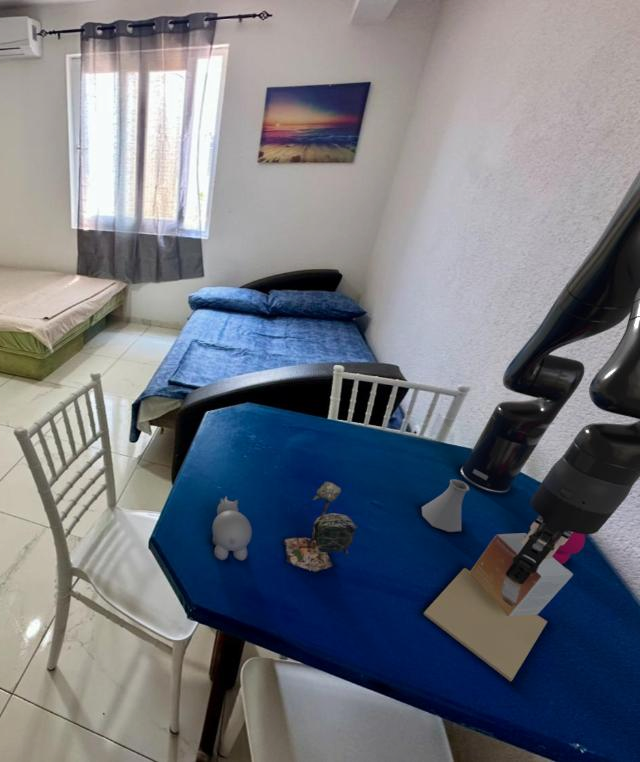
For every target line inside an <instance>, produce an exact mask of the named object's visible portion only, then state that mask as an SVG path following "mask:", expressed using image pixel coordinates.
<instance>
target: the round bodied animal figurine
mask: <svg viewBox="0 0 640 762" xmlns="http://www.w3.org/2000/svg"><path fill="white" fill-rule="evenodd" d="M238 505H239V499H236V500H234V501H231V500H228V496H226V495H225V497H224V498H222V497H221V498H220V500H219V503H218V506H217V509H216V513H217V516H215V519H214V520H213V522H212V529H211V530H212V535H213V536H212V543H213V544H214V546H215V547H214V550H213V554H214V556H215V557H216V559H218V560H220V561H224V560H226V559H227V558H228V557H229V552H231V551H232V554H233V557H234V558H235V559H236V560H238V561H244V560H246V559H247V557H248V549H247V546H248V545H249V544H250V541H251V540H252V534H253V529H252V526H251V525H252V524H251V523H250V521H249V520H248V518H247V517H246V516H245V515H244V514H242V512H239V511H240V510H239V507H238Z"/></svg>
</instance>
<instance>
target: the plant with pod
mask: <svg viewBox="0 0 640 762" xmlns="http://www.w3.org/2000/svg"><path fill="white" fill-rule="evenodd" d="M341 492H342V489H341V487H339V486H337V485H336V484H335V483H334V482H331V481H324V482H323V484H322V485H321V486H320V487H319V488H318V489H317V490H316V494H317V495H315V496H314V497H313V498H312V500H313V501H315V500H317V499H323V500H325V504H324V508H323V511H322V513H321V516H320V515H319V517H317V518H316V519H315V521H314V522H313V525H312V526H313V528H312V530H313V531H312V532H311V535H312V536H311V538H309V537H300V536H299V537H296V536H294V537H293V538H292V537H290V538H285V540H284V541H283V544H284V545H285V547H284V548H285V550H286V551H285V554H286V562H287V563H289V564H290V565H292V566H295V567H298V568H301V569H305V570H309V571H310V572H311V571H312V573H315V572H319V571H322V570H328V569H329V568H332V567H334V564H333V562H332V561H331V558H330V557H329V555H328V554H329V553H340V552H342V551H343V552H344V553H345V554H349V553H348V552H349V551H348V550H347V549H348V548H349V547H350V546H351V544H353V539H354V534H355V533H356V528H358V525H356V524H355V523H354V521H353V520H352V518H351V517H350V516H348V515H345V514H340V513H335V512H332V513H327V509H328V507H329V505H330V503H332V502H334V501H336V500H337V499H338V497H339V496H340V494H341Z"/></svg>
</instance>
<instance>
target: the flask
mask: <svg viewBox="0 0 640 762" xmlns="http://www.w3.org/2000/svg"><path fill="white" fill-rule="evenodd" d="M469 491H470V486H469V485H468V484H467V482H465V481H462V480H459V479H456V478H455V479H450V480H449V486H448V487H447V488H446V490H445V491H443V493H441V494H440V495H438V496H437V497H436V498H434V499H433V500H431V501H429V502H427V503H425V504H424V505H423V506H421V515H422V517H423V518H424V519H425V521H426V522H428V523H429V524H430V525H431V526H432V527H434V528H437V529H440V530H442V531H444V532H445V531H446V532H447V533H453V532H454V533H455V532H462V509H463V508H462V507H463V506H462V505H463V500H464V497H465V494H466V493H468V492H469Z"/></svg>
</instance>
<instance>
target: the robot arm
mask: <svg viewBox="0 0 640 762" xmlns="http://www.w3.org/2000/svg"><path fill="white" fill-rule="evenodd" d="M628 316H629V317H628ZM627 317H628V320H627V324H626V328H625V331H624V334H623V335H622V337H621V338H620V341H619V342H618V344H617V345H616V348H615V349H614V350H613V351H612V353H611V355H610V356H609V358H608V359H607V361H605V363H603V365H602V367H601V368H600V369H599V370H598V371H597V373H596V374H595V376H593V379H592V380H591V382H590V384H589V387H588V393H589V397H590V400H591V402H592V403H593V405H594V406H596V408H598V409H599V410H602V411H604V412H607V413H610V414H615V415H619V416H624V417H628V418H632V419H638V421H634V422H631V423H609V422H595V423H594V422H593V423H589V424H587V425H585V426H584V427H582V428H581V430H579V432H578V433H577V435H576V436H575V438H574V439H573V440H572V442H571V443H570V445H569V446H568V448H567V449H566V451H565V453H563V454H562V456H561V457H560V458H559V459H558V460H557V461H556V462H555V463H554V464H553V465H552V467H551V468H550V470H549V471H548V472H547V474H546V475H545V477H544V478H543V480H542V481H541V483H540V484H539V486H538V487H537V489H536V490H535V491H534V492H533V494H532V496H531V497H530V500H529V503H530V506H531V508H532V509H533V510H534V511H535V513H536V514H537V515H538V516H537V518H536V519H534V521H533V522H532V523H533V524H532V523H531V525H530V526H529V528H530V530H529V531H528V533H526V534H527V535H526V537H525V538H524V539H523V541H522V542H521V544H522V546H523V548H522V549H521V551H520V552H519V553H518V555H517V554H516V556H515V557H514V558H513V564H512V565H511V567H510V568H509V569H508V571H507V572H506V575H507V577H509V578H511V579H512V580H514V581H515V582H517V583H519V584H523V583H524V582H525V581H526V579H527V578H528V577H529V576H530V574H531V573H532V574H533V573H534V572H536V571H537V569H538V568H539V567H538V566H539V565H540V564H541V562H542V561H543V560H544V559H550V558H551V557H552V556H553V554H554V553H555V552H556V550H557V549H558V548H559V546H561V545H564V544H565V543H566V541H567V540H568V539H569V537H570V535H571V534H572V533H573V532H575V533H580V534H585V535H593V534H596V533H598V532H599V531H600V530H601V528H602V527H603V526H604V525H605V524H606V523H607V521H609V519H610V518H611V516H612V515H613V514H614V513H615V512H616V511H617V509H618V508H619V507H620V506H621V504H623V502H624V501H625V500H626V499H627V497H628V496H629V493H630V492H631V490H632V488H633V486H634V485H635V483H636V482H637V481H638V480H639V479H640V169H639V170H638V172H637V173H636V175H635V177H634V179H633V180H632V182H631V184H630V185H629V187H628V188H627V191H626V192H625V194H624V195H623V197H622V199H621V200H620V202H619V204H618V206H617V207H616V209H615V211H614V213H613V215H612V216H611V218H610V219H609V221H608V223H607V225H606V227H605V228H604V230H603V232H602V234H600V236H599V238H598V239H597V241H596V242H595V244H594V246H592V248H591V249H590V251H589V252H588V254H587V255H586V257H585V258H584V259H583V261H582V263H581V264H580V265H579V266H578V268H577V269H576V271H574V273H573V275H572V276H571V277H570V279H568V281H567V283H566V284H565V286H564V287H563V288H562V290H561V292H560V293H559V294H558V296H557V297H556V299H555V300H554V302H553V304H552V305H551V307H550V309H549V310H548V312H547V314H546V315H545V317H544V318H543V320H542V321H541V323H540V324H539V326H538V327H537V329H536V330H535V332H534V333H533V334H532V335H531V336H530V337H529V339H528V340H527V341H526V342H525V344H523V345H522V347H520V349H519V351H518V352H517V353H516V354H515V356H514V357H513V358H512V359H511V361H510V362H509V364H508V365H507V367H506V368H505V371H504V373H503V376H502V384H503V387H505V389H507V390H508V391H511V392H514V393H516V394H520V395H524V396H528V397H532V398H534V399H530V400H508V401H501V402H500V403H498V404H497V405H496V406H495V407H494V410H493V411H492V413H491V415H490V417H489V419H488V420H487V423H486V424H485V426H484V428H483V430H482V431H481V433H480V435H479V437H478V439H477V440H476V443H475V445H474V446H473V448H472V450H471V452H470V453H469V455H468V457H467V458H466V460H465V463H464V464H463V466H462V467H461V468H460V470H459V473H460V476H461V478H463V480H465V482H466V483H468V484H469V485H471V486H473V487H475V488H476V489H478V490H481V491H483V492H487V493H490V494H495V495H504V494H507V493H508V492H509V491H510V489H511V487H512V485H513V483H514V482H515V480H516V479H517V477H518V476H519V474H520V472H521V471H522V469H523V468H524V466H526V465H525V464H526V463H527V461H528V460H529V458H530V457H531V455H532V454H533V452H534V451H535V449H536V448H537V446H538V444H539V443H540V441H541V439H542V438H543V437H544V435H545V433H546V432H547V430H548V429H549V428H550V426H551V424H552V423H553V422H554V421H555V420H556V418H557V416H558V415H559V413H560V412H561V410H562V409H563V408H564V406H565V405H566V404H567V403H568V401H569V399H570V398H571V397H572V396H573V394H574V393H575V392H576V391H577V389H578V387H579V386H580V384H581V382H582V381H583V379H584V377H585V376H584V375H585V365H584V364H583V362H581V361H579V360H576V359H572V358H568V357H563V356H559V355H555V354H551V353H553V352H555V351H557V350H558V349H560V348H562V347H565V346H567V345H570V344H574V343H577V342H579V341H582V340H585V339H588V338H591V337H593V336H597V335H598V334H601V333H605V332H606V331H608V330H611V329H612V328H614V327H616V326H617V325H619V324H621V323H622V322H623V321H624V320H625V319H626V318H627ZM535 532H536V533H535ZM534 533H535V534H534ZM554 543H555V544H554ZM524 555H526V556H528V557H530V558H531V559H533V560H535V562H534V561H533V560H531V559H529V558H527V557H526V556H524Z"/></svg>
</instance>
